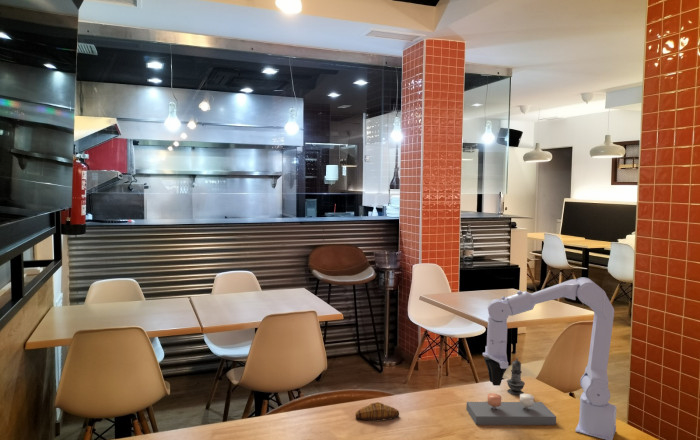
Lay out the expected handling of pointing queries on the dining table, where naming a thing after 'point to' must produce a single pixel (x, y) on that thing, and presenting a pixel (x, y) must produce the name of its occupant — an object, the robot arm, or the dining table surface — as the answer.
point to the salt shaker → (515, 379)
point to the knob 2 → (526, 400)
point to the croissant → (377, 412)
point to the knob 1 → (494, 400)
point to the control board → (510, 414)
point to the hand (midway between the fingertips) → (495, 383)
